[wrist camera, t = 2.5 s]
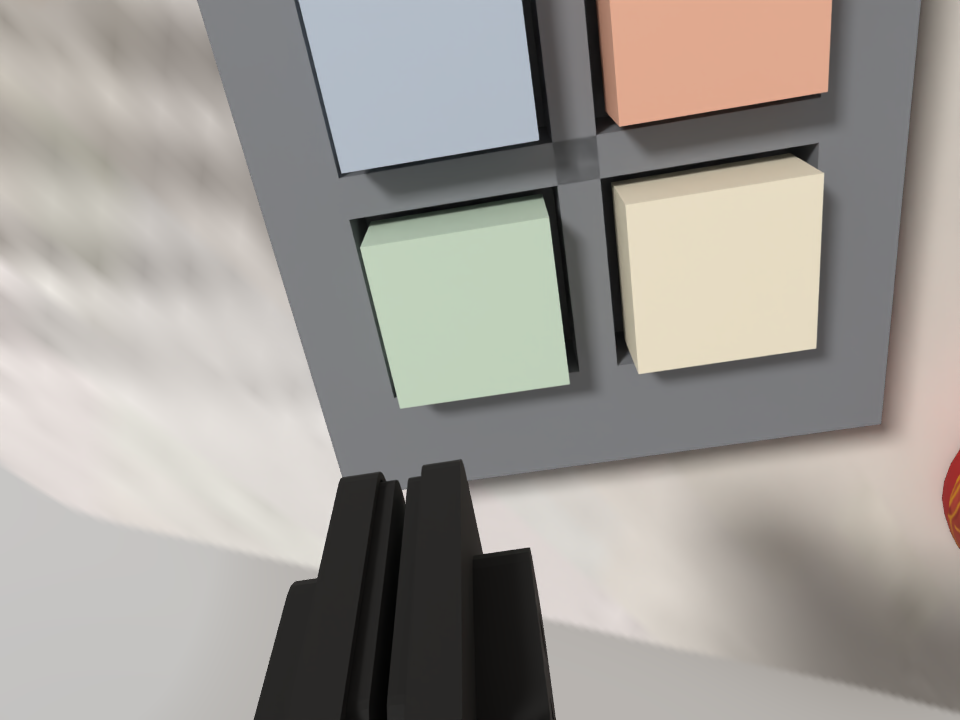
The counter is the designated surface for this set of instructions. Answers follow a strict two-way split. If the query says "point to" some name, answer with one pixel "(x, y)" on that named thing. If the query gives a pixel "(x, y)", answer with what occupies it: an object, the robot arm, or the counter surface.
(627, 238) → the sand key
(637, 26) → the terracotta key
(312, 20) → the slate key
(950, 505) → the canned food
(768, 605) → the counter surface
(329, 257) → the keypad
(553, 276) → the sage key
